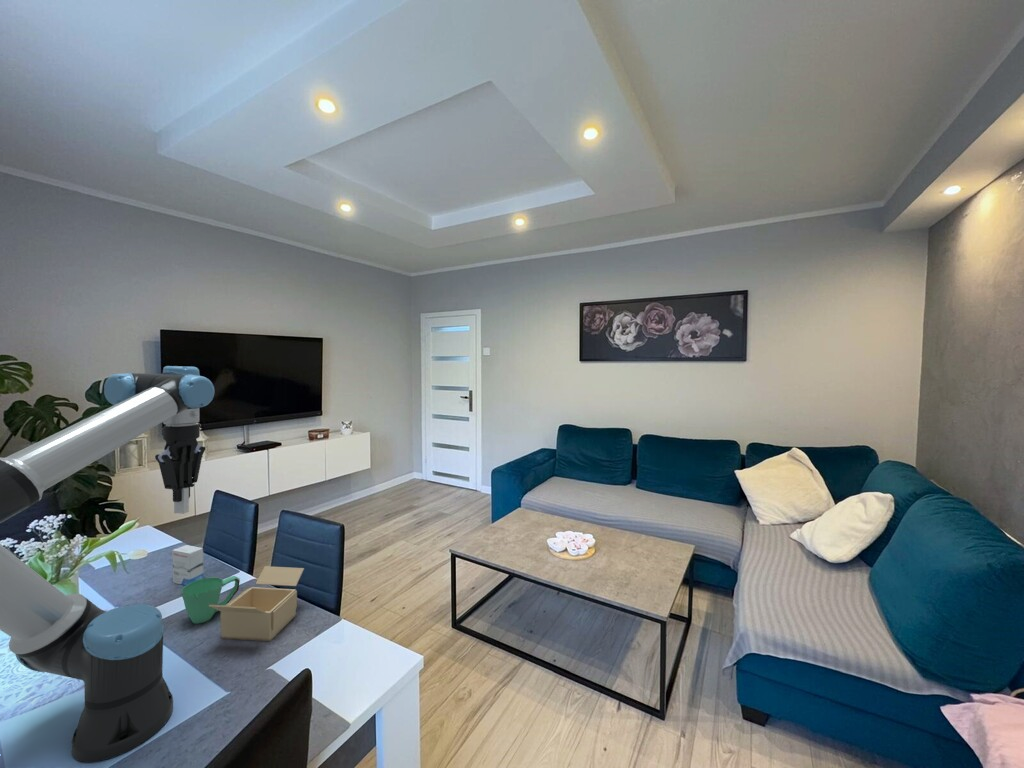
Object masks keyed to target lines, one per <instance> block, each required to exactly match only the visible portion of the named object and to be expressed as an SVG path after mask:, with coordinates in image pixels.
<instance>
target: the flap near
mask: <svg viewBox="0 0 1024 768" xmlns="http://www.w3.org/2000/svg"><path fill="white" fill-rule="evenodd" d="M209 607H212V608H214V609H217V610H218V611H219V612H221V611H227V612H245V613H262V614H265V613H266V612H265V611H263V610H261V609H259V608H257V607H244V606H227V604H226V605H218V604H217V605H209Z"/></svg>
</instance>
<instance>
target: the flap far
mask: <svg viewBox="0 0 1024 768" xmlns="http://www.w3.org/2000/svg"><path fill="white" fill-rule="evenodd" d="M304 570H305V568H304V567H287V566H286V567H285V566H269V565H264V567H263V569H262V571H261V573H260V575H259V576H258V578H257V581H255V584H256V585H266V586H267V585H268V586H283V587H297V585H298V583H299V582H300V581H299V580H300V579H301V577H302V575H303V572H304Z"/></svg>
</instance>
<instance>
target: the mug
mask: <svg viewBox="0 0 1024 768" xmlns="http://www.w3.org/2000/svg"><path fill="white" fill-rule="evenodd" d="M240 581H241V578H240V577H237V576H236V575H231V576H230V577H227V578H224V579H222V578H220V577H214V576H213V577H212V576H211V577H206V578H205V577H204V579H200V580H197V581H194V582H192V583H190V584H188V585H186V586H185V585H184V587H182V588H181V597H182V600H183V603H184V608H185V610H186V612H187V615H188V616H189V618H190V620H191V622H192V623H193V624H203V623H205V622H208V621H210V620H211V619H212V618H213V616H214V614H216V613H217V612H218V611H219V610H217V609H214V608H212V607H209V605H227V604H228V603H229V602H231V601H232V600H233V599H234V596H235V595H236V593H237V592H238V591H239V587H240ZM231 582H234V586H233V587H232V589H231V590H230V592H229V593H228V594H227V596H226V598H225V599H223V600H222V601H221V602H219V601H220V597H221V591H222V589H223V587H225V586H226V585H228V584H230V583H231Z"/></svg>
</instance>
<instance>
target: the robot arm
mask: <svg viewBox="0 0 1024 768" xmlns="http://www.w3.org/2000/svg"><path fill="white" fill-rule="evenodd" d="M200 374H201V373H200V369H199V368H198V367H196V366H178V365H173V366H172V365H166V366H164V367H163V369H162V373H134V372H133V373H131V372H126V373H114V374H112V375H110V376H109V377H108V378H106V380H105V383H104V384H103V385H104V386H103V388H104V389H103V390H104V391H103V393H104V397H105V399H106V400H107V402H109V404H111V405H112V406H110V407H107V408H105V409H103V410H101V411H99V412H98V413H95V414H92V415H90V417H89V416H88V417H87V418H84V419H83V420H80V421H79V422H76V423H74V424H72V425H70V426H68V427H66V428H64V429H62V430H60V431H58V432H56V433H54V434H51V435H49V436H47V437H45V438H43V439H41V440H39V441H38V442H35V443H32V444H30V445H29V446H27V447H25V448H22V449H21V450H20V449H19V451H16V452H14V453H12V454H9V455H8V456H6V457H0V524H2V523H3V522H5V521H7V520H9V519H10V518H11V519H12V517H14V516H16V515H18V514H19V513H21V512H23V511H25V510H26V509H28V508H30V507H32V506H33V505H34V504H36V503H38V502H40V501H41V500H42V498H43V493H44V491H46V490H48V489H49V488H51V487H53V486H55V485H56V484H58V483H59V482H62V481H63V480H65V479H67V478H69V477H71V476H72V475H74V474H75V473H77V472H79V471H80V470H82V469H84V468H86V467H88V466H89V465H91V464H93V463H94V462H96V461H98V460H99V459H101V458H104V457H105V456H106V455H109V454H110V453H112V452H113V451H115V450H117V449H119V448H120V447H122V446H124V445H125V444H128V443H129V442H131V441H133V440H135V439H136V438H138V437H140V436H142V435H143V434H146V433H147V432H148V431H150V430H152V429H153V428H155V427H157V426H158V425H160V424H162V423H163V425H164V426H163V427H162V439H163V440H164V441H165V446H164V451H162V452H161V454H160V453H159V454H156V455H155V458H154V459H155V460H156V461H157V463H158V465H159V470H160V474H161V477H162V481H163V485H164V487H163V488H164V489H166V490H172V502H173V503H174V504H173V510H174V511H173V513H174V514H187V513H189V511H190V509H189V507H190V506H189V504H190V497H191V488H193V487H195V485H196V484H195V483H197V482H198V478H199V475H200V470H201V469H200V468H201V463H202V459H203V455H204V452H205V451H206V447H205V446H201V445H199V442H198V441H197V439H199V438H200V433H201V430H200V429H201V427H200V425H199V424H198V423H200V408H203V407H206V406H208V405H209V404H210V403H211V402H212V401H213V399H214V396H215V393H216V392H215V386H214V384H213V382H212V381H211V380H210V379H209V378H207V377H205V376H202V375H200ZM164 630H165V625H164V622H163V615H162V612H161V611H160V609H159V608H157V607H156V606H153V605H150V604H145V603H144V604H143V603H134V604H133V605H128V604H125V605H121V606H118V607H115V608H112V609H109V610H107V611H106V610H104V609H101V608H100V607H98V605H96V604H94V603H93V602H92V601H91V600H90V599H88V598H87V597H86V596H84V595H83V594H81V593H69V594H64V592H62V591H61V590H60V589H58V588H57V587H55V586H54V585H53V584H52V583H51V582H49V581H48V580H47V579H46V578H44V577H43V576H42V575H40V574H39V573H38V572H36V570H34V569H33V568H31V567H30V566H29V565H28V564H26V563H25V562H24V561H22V560H21V559H20V558H18V557H17V556H16V555H15V554H13V552H11V551H10V550H8V549H7V548H6V547H5V546H3V545H2V544H1V543H0V631H1V632H3V633H4V634H6V635H8V636H9V637H10V640H9V642H8V648H9V650H10V652H11V653H13V654H14V655H15V658H16V659H17V661H18V662H19V664H21V665H22V666H24V667H25V668H27V669H28V670H31V671H34V672H37V673H38V672H39V673H48V674H51V675H52V674H53V675H58V676H61V677H67V678H71V679H75V680H79V681H80V680H81V681H83V683H84V684H83V685H84V706H83V707H84V708H83V709H82V712H81V714H80V717H79V720H78V723H77V726H76V728H75V730H74V731H73V732H74V733H73V734H72V737H71V748H70V749H71V750H70V751H71V756H72V758H74V759H75V760H76V761H79V762H81V763H83V762H84V763H92V762H93V763H94V762H100V761H101V762H102V761H103V760H104V761H105V760H108V759H112V758H115V757H117V756H119V755H122V754H125V753H126V752H128V751H132V750H133V749H134V748H137V747H138V746H140V745H141V744H143V743H144V742H146V741H147V740H149V739H150V738H152V737H153V736H154V735H156V733H158V732H159V731H160V730H161V729H162V728H163V727H164V726H165V725H166V724H167V722H168V721H169V720H170V718H171V716H172V715H173V711H174V697H173V694H172V692H171V691H170V688H169V686H168V684H167V682H166V680H165V678H164V675H163V670H164V669H163V667H164V666H163V663H164V662H163V661H164V660H163V659H164Z"/></svg>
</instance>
